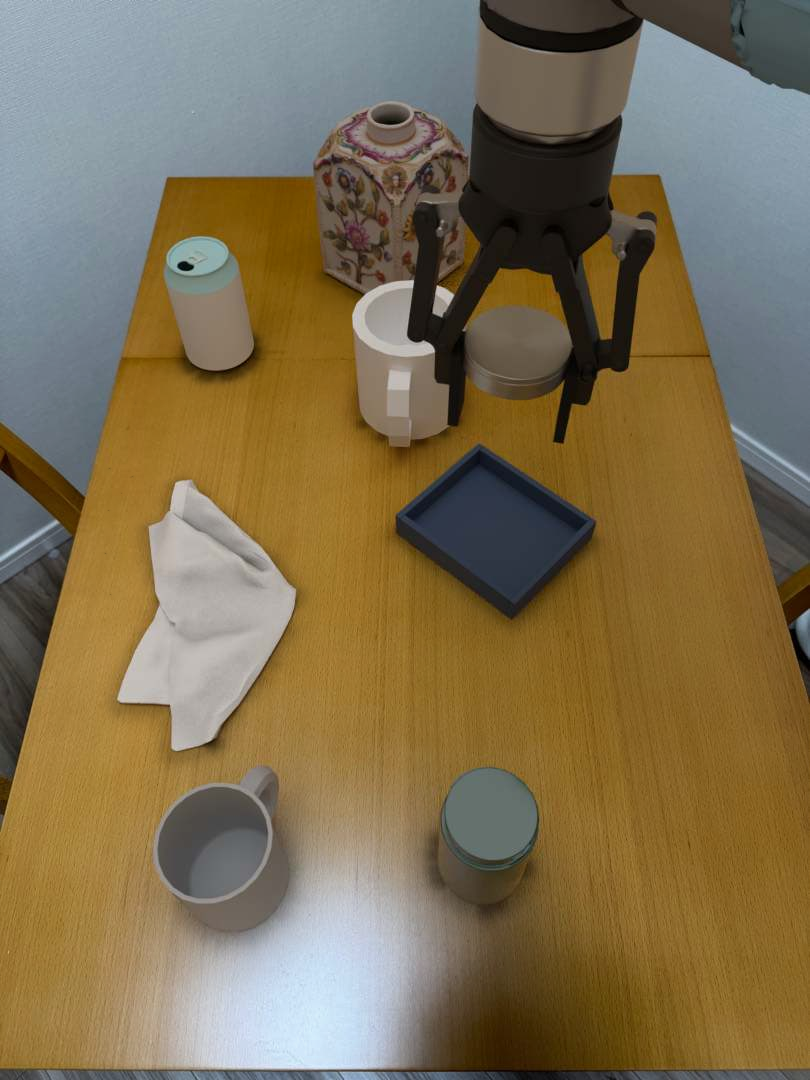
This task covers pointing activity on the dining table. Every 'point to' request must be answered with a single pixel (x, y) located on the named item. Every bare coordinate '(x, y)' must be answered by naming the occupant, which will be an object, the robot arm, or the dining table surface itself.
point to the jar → (486, 834)
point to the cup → (225, 851)
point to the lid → (516, 352)
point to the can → (209, 303)
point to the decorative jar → (384, 193)
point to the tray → (495, 529)
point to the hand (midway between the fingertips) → (507, 420)
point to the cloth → (205, 618)
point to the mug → (397, 366)
